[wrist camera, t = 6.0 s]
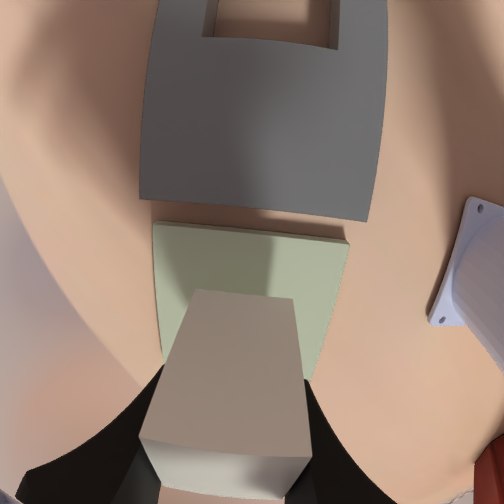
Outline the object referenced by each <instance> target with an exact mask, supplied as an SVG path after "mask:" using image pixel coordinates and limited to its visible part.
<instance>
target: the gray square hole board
mask: <svg viewBox="0 0 504 504" xmlns="http://www.w3.org/2000/svg"><path fill="white" fill-rule="evenodd" d="M218 2H219V0H159V5H158V9H157V14H156V19H155V24H154V29H153V35H152V40H151V46H150V53H149V59H148V66H147V74H146V82H145V91H144V101H143V112H142V126H141V144H140V180H139V198H140V199H145V200H161V201H176V202H190V203H202V204H214V205H225V206H236V207H246V208H256V209H266V210H275V211H284V212H292V213H301V214H309V215H317V216H324V217H332V218H339V219H346V220H354V221H360V222H367V219H368V214H369V209H370V204H371V199H372V194H373V188H374V183H375V177H376V171H377V164H378V158H379V151H380V143H381V135H382V127H383V118H384V108H385V96H386V81H387V61H388V10H387V0H331V3H330V25H329V42H328V48H323V47H318V46H313V45H307V44H300V43H293V42H286V41H277V40H267V39H254V38H235V37H213V33H214V26H215V20H216V14H217V7H218Z"/></svg>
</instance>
